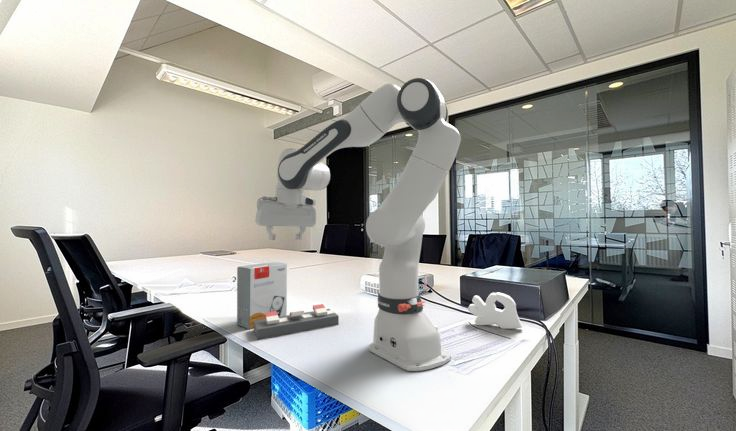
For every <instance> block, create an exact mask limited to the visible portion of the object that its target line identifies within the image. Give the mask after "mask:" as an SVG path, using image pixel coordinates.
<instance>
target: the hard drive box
mask: <svg viewBox="0 0 736 431" xmlns="http://www.w3.org/2000/svg"><path fill="white" fill-rule="evenodd" d="M287 267H288V263H285V262H279V261H272V262H264V263H256V264H248V265H240V266H237V268H236V272H237V274H236V275H237V276H236V281H237V282H236V285H237V286H236V287H237V288H236V293H237V294H236V297H237V298H236V325H237V326H240V327H242V328H245V329H247V330H250V329H254V321H255V320H262V319H266V318H265V313H266V312H273V311H277V314H278V317H281V316H287V311H288V310H287V306H288V305H287V304H288V303H287V302H288V301H287V300H288V298H287V297H288V290H287V286H288V284H287V282H288V279H287V278H288V268H287Z"/></svg>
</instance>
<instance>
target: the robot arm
mask: <svg viewBox="0 0 736 431" xmlns="http://www.w3.org/2000/svg"><path fill="white" fill-rule="evenodd" d="M448 114H449V112H448V107H447V105H446V104H445V99H444V96H443V95H442V94H441V91H440V90H439V89H438V88H437V85H435V84H434V83H433V82H432V81H430V80H429V79H426V78H422V77H415V78H412V79H409V80H407V81H406V82H405V83H404V84H403V85H402V86H401V87H400V86H398V85H396V84H395V83H394V84H393V83H391V82H390V83H389V82H388V83H385V84H384V85H382V86H380V87H379V88H377V89H376V90H374V91H373V92H372V93H370V94H369V95H368V96H366V97H365V98H364V99H363V100H362V101H361V102H360V103H359V104H358V105H357V106H356V107H355V108H353V109H352V110H351V111H350V112H349V113H348V114H346V115H345V116H343V117H342V118H340V119H337V120H336V121H334V122H332V123H331V124H330V125H328V126H327V127H325V128H324V129H323V130H322V131H320V132H319V133H317V134H316V135H315V136H314V137H313V138H312V139H310V140H309V141H308V142H307V143H305V144H304V145H303V146H302V147H300V148H287V149H284V150H282V151H281V153H280V154H279V158H278V163H277V171H276V178H277V183H276V187H275V196H262V197H259V198H258V199H257V201H256V202H257V204H256V209H257V210H256V215H255V223H256V225H258V226H262V227H263V226H264V227H265V229H266V231H267V233H268V240H269V241H276V236H277V235H276V233H275V234H274V233H273V231H272V230H273V229H274V227H296V228H297V227H298V229H299V231H298V233H295V240H297V241H301V240H302V239H303V235H304V233H305V231H306V229H307V227H309V228H314V227H315V226H316V224H317V210H316V207H315V206H316V203H317V202H316V201H317V200H316V199H314V198H311V197H309V196H308V195H306V194H304V191H315V192H317V191H322V190H325V189H326V187H328V185H329V184H330V181H331V170H330V168H329V167H328V165H327V164H326V163H324V162H322V161H323V160H325V159H326V158H327V157H328V156H329V155H331V154H332V153H334V152H335V151H337V150H340V149H344V148H353V147H354V148H364V147H369V146H370V145H372V144H374V143H376V142H377V141H378V140H381V138H382V137H383V136H384V135H385V134H387V133H388V132H389V131H390V130H391V129H392V128H393V127H394V126H396V125H397V124H399V123H405V124H406V125H407V126H409V127H410V128H412V129H413V130H415V131H416V132H417V134H418V138H417V142H416V145H415V147H414V148H413V151H412V153H411V155H410V156H409V159H408V161H407V163H406V165H405V167H404V168H403V171H402V172H401V175H400V176H399V178H398V180H397V182H396V184H394V186H393V188H392V189H391V191H389V193H388V194H387V196H386V197H385V198H384V200H383V201H382V202H381V204H380V205H379V206H378V207H377V208H376V209H375V210H373V212H371V213H370V215H368V217H367V219H366V222H365V230H366V235H367V236H368V238H369V240H371V242H373V244H375V245H378V246H380V247H385V249H384V252H383V256H382V259H381V261H380V264H379V268H378V273H379V274H378V278H379V279H378V282H379V283H378V284H379V286H378V287H379V289H378V290H379V292H378V294H377V307H378V311H377V314H376V316H375V317H374V323H373V335H372V336H373V338H372V343H371V344H370V345H369V352H370V353H373V354H374V355H376V356H378V357H380V358H382V359H384V360H386V361H388V362H390V363H391V364H394V365H395V366H397V367H398V368H401V369H403V370H405V371H408V372H418V371H419V372H421V371H426V370H430V369H433V368H437V367H441V366H443V365H446V364H447V363H449V362H450V360H451V359H452V355H451V353H450V352H449V351H447V350H446V349H445V348H444V347H442V342H441V336H440V333H439V331H438V330H439V329H438V327H437V325H435V324H433V323H432V321H431V320H430V319H429V317H428V316H427V314H426V313H425V312H424V310H423V309H424V307H423V306H425V301H423V300H422V298H421V294H419V265H420V258H421V251H422V243H423V235H424V232H425V228H426V222H425V219H424V217H423V213H424V212H425V211H426V210H427V208H428V207H429V205H430V204H431V203H432V202H433V201H434V200H435V198H436V197H437V195H438V193H439V191H440V189H441V188H442V185H443V184H444V182H445V181H446V180H445V179H446V177H447V176H448V175H449V172H450V170H451V168H452V166H453V163H454V161H455V159H456V157H457V154H458V151H459V148H460V145H461V143H462V142H461V140H462V138H461V137H462V136H461V134H460V132H459V131H458V129H457V128H456V127H455V126H453V125H452V124H450V123H448V122H447V121H448Z"/></svg>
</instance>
